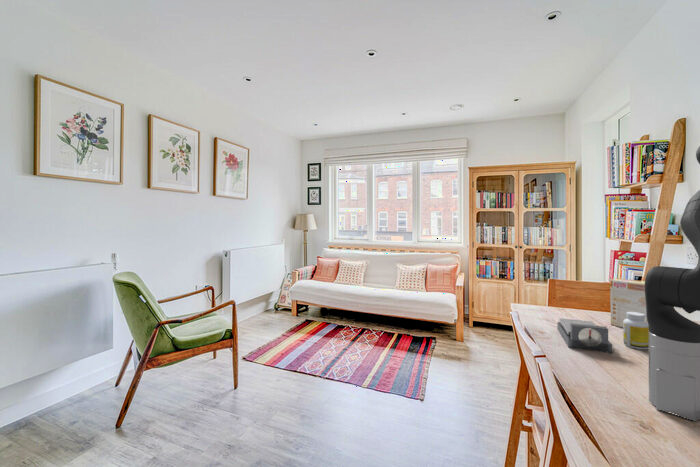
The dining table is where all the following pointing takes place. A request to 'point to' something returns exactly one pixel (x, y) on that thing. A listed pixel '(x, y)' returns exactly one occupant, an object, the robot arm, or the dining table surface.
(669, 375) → the robot arm
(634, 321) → the pill bottle
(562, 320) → the pan
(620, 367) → the dining table surface
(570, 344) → the kitchen scale
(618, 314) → the coffeecake box
